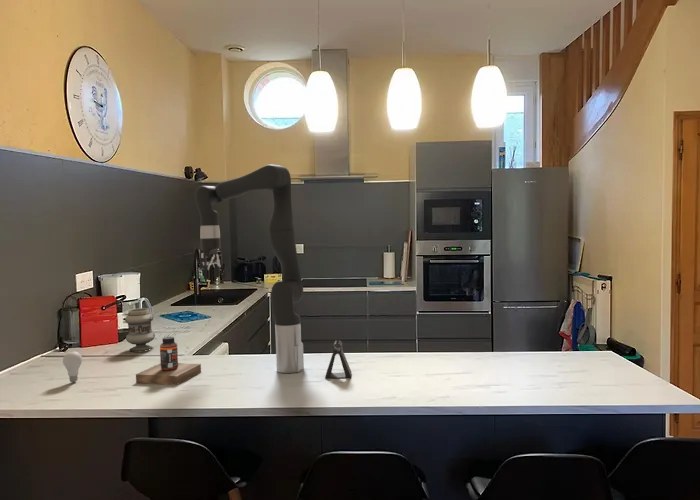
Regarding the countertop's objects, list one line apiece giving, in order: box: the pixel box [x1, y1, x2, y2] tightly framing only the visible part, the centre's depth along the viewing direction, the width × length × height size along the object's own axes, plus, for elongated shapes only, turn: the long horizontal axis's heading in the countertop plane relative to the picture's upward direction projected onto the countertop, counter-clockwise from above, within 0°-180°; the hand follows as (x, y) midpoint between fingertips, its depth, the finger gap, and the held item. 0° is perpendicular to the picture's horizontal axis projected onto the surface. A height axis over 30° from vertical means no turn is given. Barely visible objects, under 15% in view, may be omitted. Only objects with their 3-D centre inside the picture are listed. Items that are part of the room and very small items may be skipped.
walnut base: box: [135, 362, 202, 386], centre depth 195 cm, size 16×16×3 cm
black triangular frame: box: [324, 339, 352, 380], centre depth 190 cm, size 9×6×12 cm, turn 88°
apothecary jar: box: [124, 307, 156, 353], centre depth 241 cm, size 12×12×18 cm
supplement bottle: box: [159, 336, 179, 370], centre depth 195 cm, size 6×6×11 cm
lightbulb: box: [62, 351, 83, 384], centre depth 192 cm, size 6×6×11 cm
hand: (212, 278), depth 215 cm, fingers open, 8 cm apart
